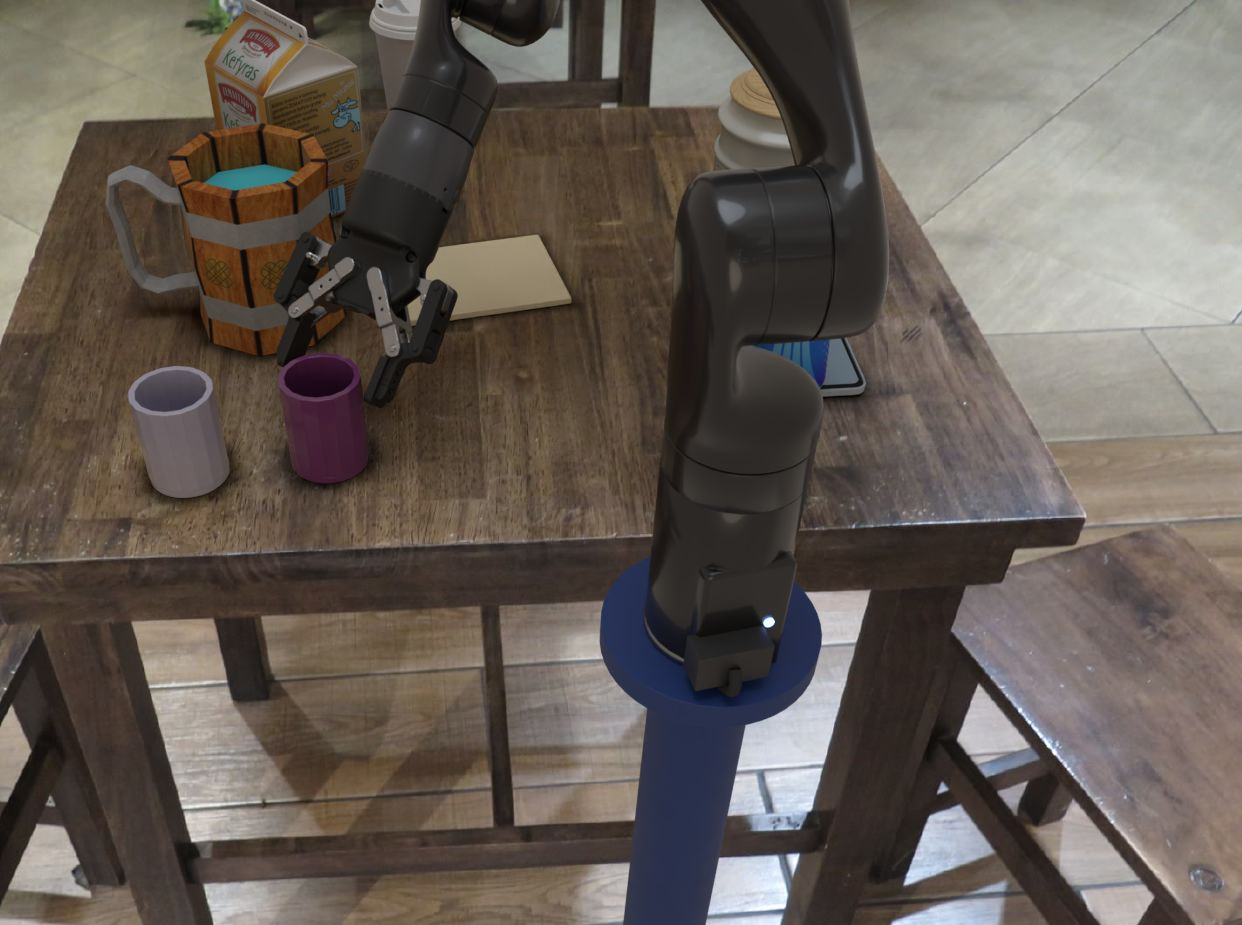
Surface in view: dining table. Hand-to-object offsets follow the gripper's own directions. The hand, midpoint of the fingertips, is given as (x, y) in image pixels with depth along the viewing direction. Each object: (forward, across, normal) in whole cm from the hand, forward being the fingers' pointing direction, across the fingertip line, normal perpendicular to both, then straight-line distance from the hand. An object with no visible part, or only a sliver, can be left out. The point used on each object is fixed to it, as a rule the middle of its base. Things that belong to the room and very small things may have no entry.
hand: (329, 387), depth 97 cm
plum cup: (+5, 0, +4) cm, 6 cm away
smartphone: (-20, +25, +29) cm, 43 cm away
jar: (-32, +14, +41) cm, 54 cm away
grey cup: (+10, -8, -1) cm, 13 cm away
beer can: (-15, +26, +24) cm, 38 cm away
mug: (-3, -20, +12) cm, 24 cm away
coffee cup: (-29, -27, +39) cm, 56 cm away
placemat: (-15, -5, +24) cm, 28 cm away
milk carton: (-17, -30, +26) cm, 43 cm away
